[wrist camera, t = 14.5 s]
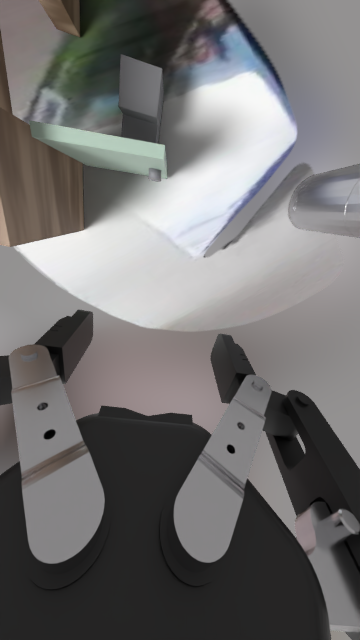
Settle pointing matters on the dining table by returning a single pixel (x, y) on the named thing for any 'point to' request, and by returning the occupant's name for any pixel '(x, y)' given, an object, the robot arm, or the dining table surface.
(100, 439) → the robot arm
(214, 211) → the dining table surface
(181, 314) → the dining table surface
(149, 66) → the grey stepped block
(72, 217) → the wall frame
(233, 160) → the dining table surface
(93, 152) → the door
